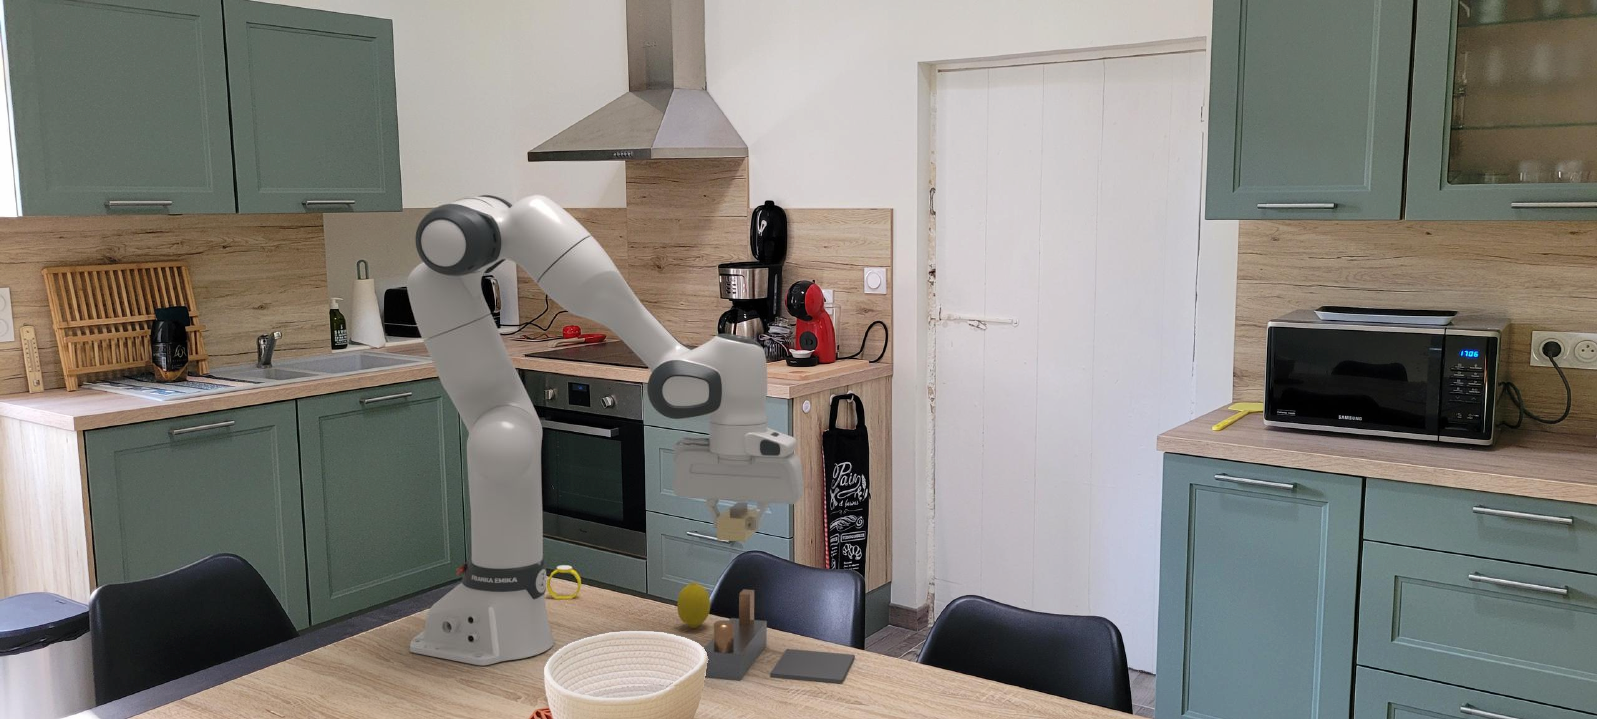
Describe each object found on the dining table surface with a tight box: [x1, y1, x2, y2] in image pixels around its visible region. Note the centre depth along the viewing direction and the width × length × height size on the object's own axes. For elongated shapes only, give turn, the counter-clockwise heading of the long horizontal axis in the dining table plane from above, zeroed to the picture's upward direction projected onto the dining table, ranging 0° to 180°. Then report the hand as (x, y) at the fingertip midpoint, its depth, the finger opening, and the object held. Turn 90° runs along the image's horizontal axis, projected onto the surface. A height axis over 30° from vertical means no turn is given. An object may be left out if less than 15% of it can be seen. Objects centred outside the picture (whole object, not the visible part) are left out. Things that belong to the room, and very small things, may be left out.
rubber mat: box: [769, 648, 856, 685], centre depth 179 cm, size 11×11×1 cm
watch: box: [546, 564, 582, 600], centre depth 212 cm, size 6×3×6 cm, turn 92°
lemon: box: [676, 581, 711, 629], centre depth 196 cm, size 6×6×8 cm
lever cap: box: [716, 501, 758, 543], centre depth 179 cm, size 4×7×4 cm, turn 167°
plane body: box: [703, 588, 768, 681], centre depth 181 cm, size 6×16×9 cm, turn 167°
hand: (737, 528), depth 179 cm, fingers closed on lever cap, 4 cm apart
